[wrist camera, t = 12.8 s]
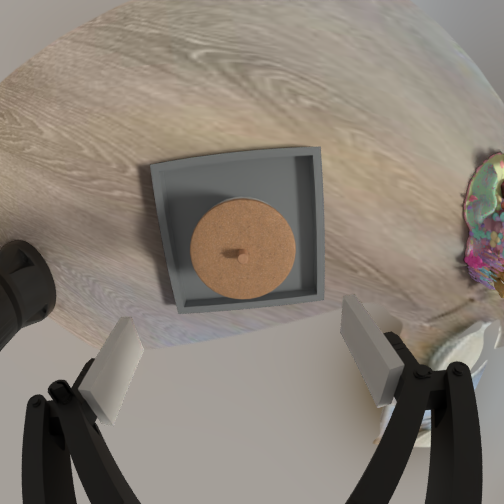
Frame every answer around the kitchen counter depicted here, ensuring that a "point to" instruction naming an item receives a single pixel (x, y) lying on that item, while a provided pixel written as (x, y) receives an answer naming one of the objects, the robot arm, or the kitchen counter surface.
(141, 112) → the kitchen counter surface
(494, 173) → the candy landscape model
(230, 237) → the lidded jar
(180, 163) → the tray
